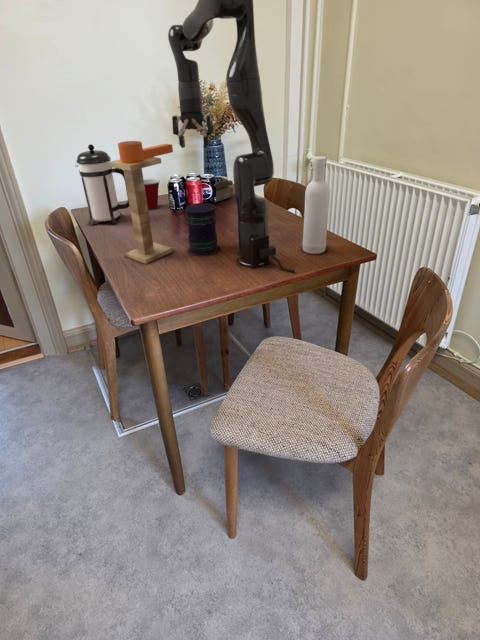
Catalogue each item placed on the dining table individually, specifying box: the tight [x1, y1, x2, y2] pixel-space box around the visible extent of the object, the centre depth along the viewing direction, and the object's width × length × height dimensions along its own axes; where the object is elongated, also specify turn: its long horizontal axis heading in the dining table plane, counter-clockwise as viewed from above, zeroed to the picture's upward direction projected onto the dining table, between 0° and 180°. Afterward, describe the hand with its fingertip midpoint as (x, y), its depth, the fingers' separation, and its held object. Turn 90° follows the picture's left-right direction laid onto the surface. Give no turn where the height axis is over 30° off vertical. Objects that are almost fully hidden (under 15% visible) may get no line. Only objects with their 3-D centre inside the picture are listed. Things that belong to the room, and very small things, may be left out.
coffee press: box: [74, 144, 130, 226], centre depth 169 cm, size 17×16×30 cm
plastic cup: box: [143, 178, 161, 211], centre depth 187 cm, size 11×11×12 cm
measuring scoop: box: [117, 140, 174, 163], centre depth 130 cm, size 19×7×5 cm, turn 141°
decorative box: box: [204, 175, 234, 204], centre depth 192 cm, size 13×20×10 cm, turn 134°
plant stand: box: [109, 156, 173, 265], centre depth 136 cm, size 12×10×31 cm
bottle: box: [302, 155, 331, 255], centre depth 136 cm, size 8×8×30 cm
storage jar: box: [185, 202, 218, 256], centre depth 143 cm, size 10×10×15 cm
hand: (194, 147), depth 151 cm, fingers open, 8 cm apart
